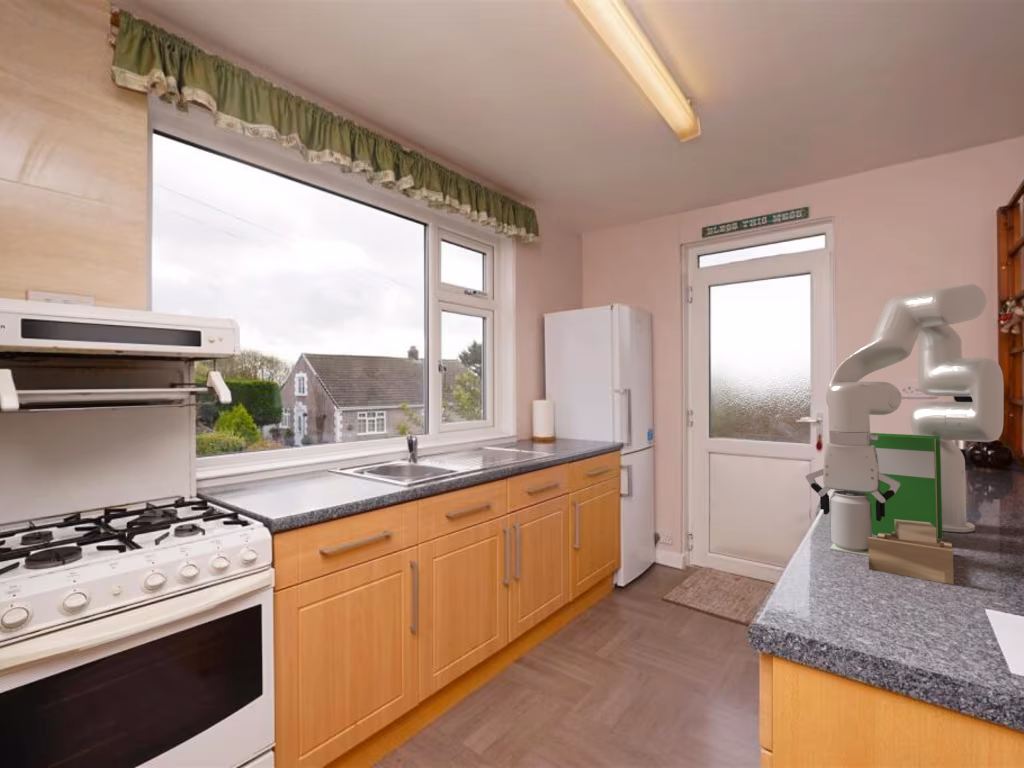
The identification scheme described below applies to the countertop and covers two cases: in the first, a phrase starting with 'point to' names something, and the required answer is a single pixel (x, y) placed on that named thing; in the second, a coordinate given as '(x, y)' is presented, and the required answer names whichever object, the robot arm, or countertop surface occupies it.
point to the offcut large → (895, 538)
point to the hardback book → (909, 480)
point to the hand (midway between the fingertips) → (852, 516)
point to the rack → (911, 559)
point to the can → (851, 520)
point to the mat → (849, 550)
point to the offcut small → (915, 531)
